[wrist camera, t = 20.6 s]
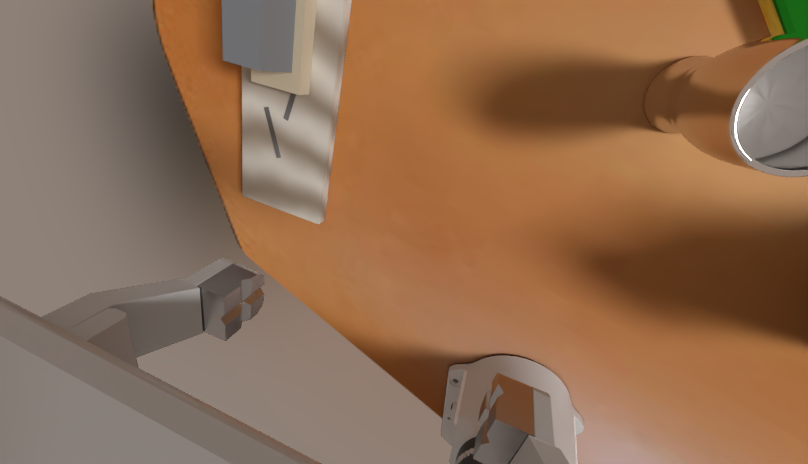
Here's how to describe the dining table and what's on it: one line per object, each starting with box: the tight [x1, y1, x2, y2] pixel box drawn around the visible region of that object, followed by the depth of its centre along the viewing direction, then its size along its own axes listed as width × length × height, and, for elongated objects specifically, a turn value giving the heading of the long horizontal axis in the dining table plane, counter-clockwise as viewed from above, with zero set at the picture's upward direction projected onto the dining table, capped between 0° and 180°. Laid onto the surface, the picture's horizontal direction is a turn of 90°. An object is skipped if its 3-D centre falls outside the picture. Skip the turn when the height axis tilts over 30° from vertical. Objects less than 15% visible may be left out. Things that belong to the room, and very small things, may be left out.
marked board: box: [242, 0, 352, 224], centre depth 39 cm, size 30×12×2 cm, turn 167°
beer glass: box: [644, 31, 808, 177], centre depth 22 cm, size 7×7×15 cm
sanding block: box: [221, 0, 317, 95], centre depth 32 cm, size 12×6×7 cm, turn 167°
